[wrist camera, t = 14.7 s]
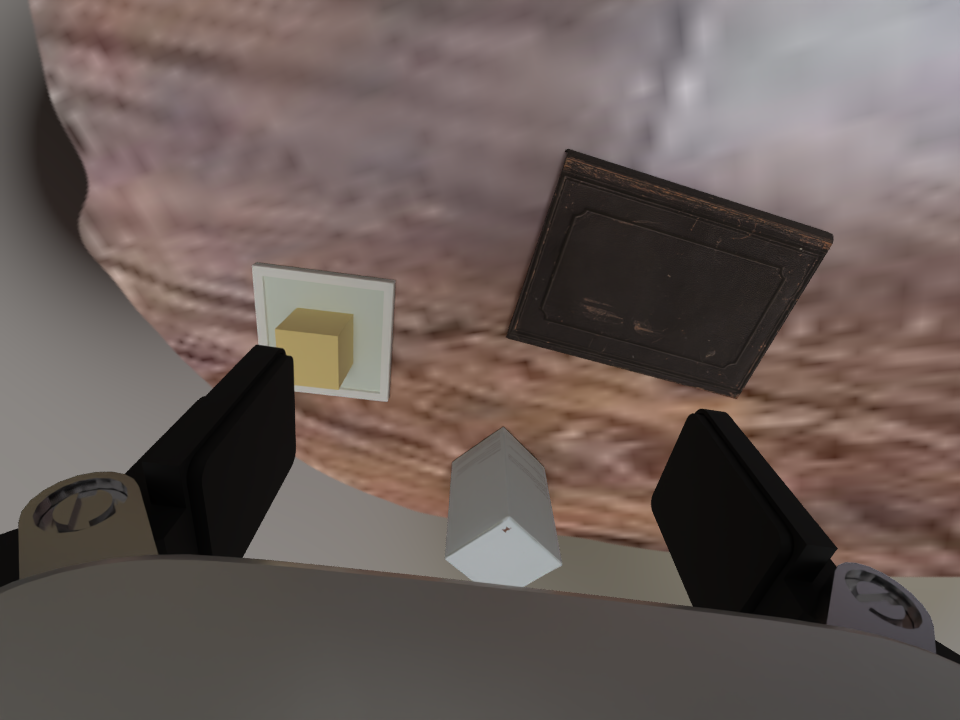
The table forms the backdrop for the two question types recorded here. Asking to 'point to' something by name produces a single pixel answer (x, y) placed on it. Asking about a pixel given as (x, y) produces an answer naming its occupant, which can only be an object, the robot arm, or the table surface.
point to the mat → (335, 293)
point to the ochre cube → (318, 346)
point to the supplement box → (501, 514)
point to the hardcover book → (662, 277)
